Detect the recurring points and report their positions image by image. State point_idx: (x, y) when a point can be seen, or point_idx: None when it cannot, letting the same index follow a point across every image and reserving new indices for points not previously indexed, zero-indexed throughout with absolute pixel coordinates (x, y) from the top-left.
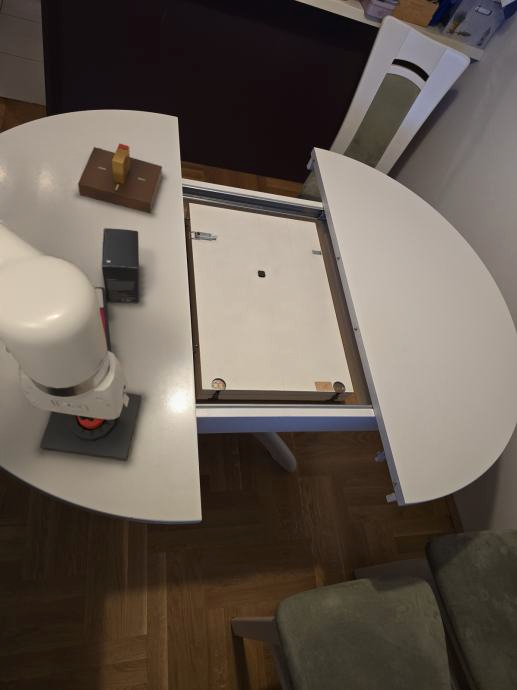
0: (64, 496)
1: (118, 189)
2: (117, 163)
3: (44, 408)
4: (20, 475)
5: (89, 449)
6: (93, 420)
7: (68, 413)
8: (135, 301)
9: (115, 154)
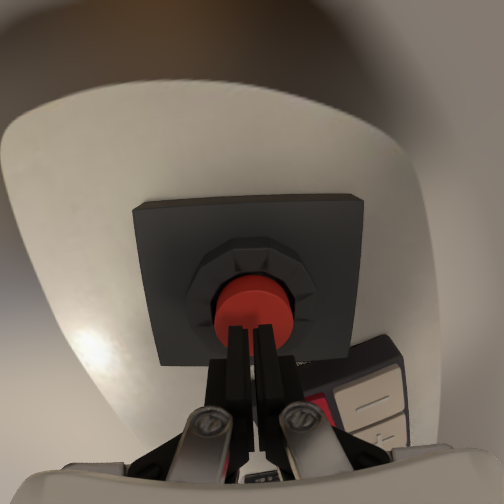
0: (265, 90)
1: None
2: None
3: (454, 477)
4: (378, 129)
5: (235, 214)
6: (240, 309)
7: (313, 497)
8: (249, 478)
9: None
